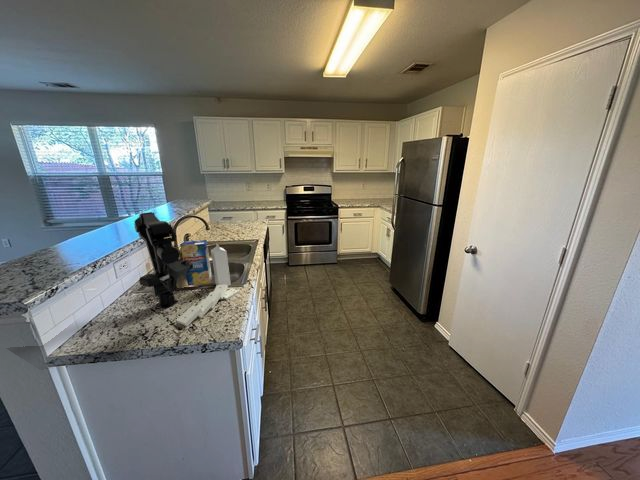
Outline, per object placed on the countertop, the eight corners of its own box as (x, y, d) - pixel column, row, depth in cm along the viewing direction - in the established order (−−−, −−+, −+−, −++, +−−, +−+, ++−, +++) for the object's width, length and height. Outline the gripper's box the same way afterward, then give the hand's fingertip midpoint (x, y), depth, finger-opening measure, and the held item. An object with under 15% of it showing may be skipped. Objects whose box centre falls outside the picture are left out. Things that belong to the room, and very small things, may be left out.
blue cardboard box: (210, 283, 134) (204, 243, 128) (187, 285, 132) (180, 245, 125) (212, 277, 141) (206, 239, 134) (190, 280, 138) (183, 241, 132)
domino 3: (201, 305, 111) (210, 291, 117) (202, 308, 112) (212, 294, 118) (211, 305, 110) (220, 291, 116) (212, 308, 111) (221, 294, 117)
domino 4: (210, 297, 117) (216, 284, 123) (212, 300, 118) (218, 287, 125) (220, 296, 116) (226, 283, 123) (222, 299, 117) (227, 286, 124)
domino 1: (176, 319, 101) (192, 304, 106) (178, 322, 102) (194, 308, 108) (184, 323, 99) (200, 307, 104) (187, 326, 100) (202, 311, 105)
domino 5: (219, 295, 120) (231, 288, 126) (219, 299, 120) (232, 291, 127) (226, 297, 117) (239, 290, 124) (227, 301, 118) (239, 293, 125)
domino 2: (190, 312, 106) (203, 298, 111) (192, 315, 107) (205, 301, 113) (199, 314, 104) (212, 300, 110) (201, 318, 105) (214, 303, 111)
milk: (219, 288, 129) (212, 247, 122) (215, 284, 133) (209, 244, 126) (231, 285, 132) (225, 245, 125) (227, 281, 137) (222, 242, 130)
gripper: (154, 268, 85) (163, 308, 90) (200, 250, 102) (205, 285, 106) (133, 263, 90) (143, 302, 94) (180, 247, 106) (186, 281, 111)
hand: (172, 292), depth 101 cm, fingers closed
